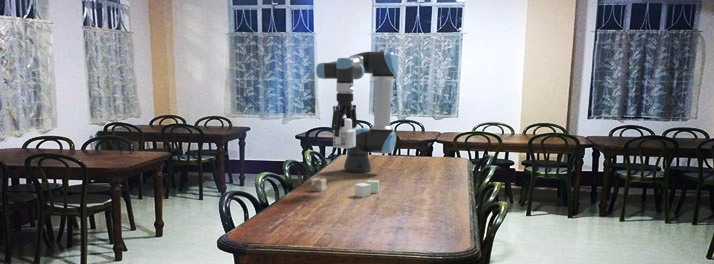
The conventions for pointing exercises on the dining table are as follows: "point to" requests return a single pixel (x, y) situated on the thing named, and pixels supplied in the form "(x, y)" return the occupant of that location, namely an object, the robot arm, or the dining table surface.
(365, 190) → the cream cube
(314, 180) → the beech cube
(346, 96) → the robot arm
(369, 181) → the sage cube
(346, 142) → the container
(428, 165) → the dining table surface
